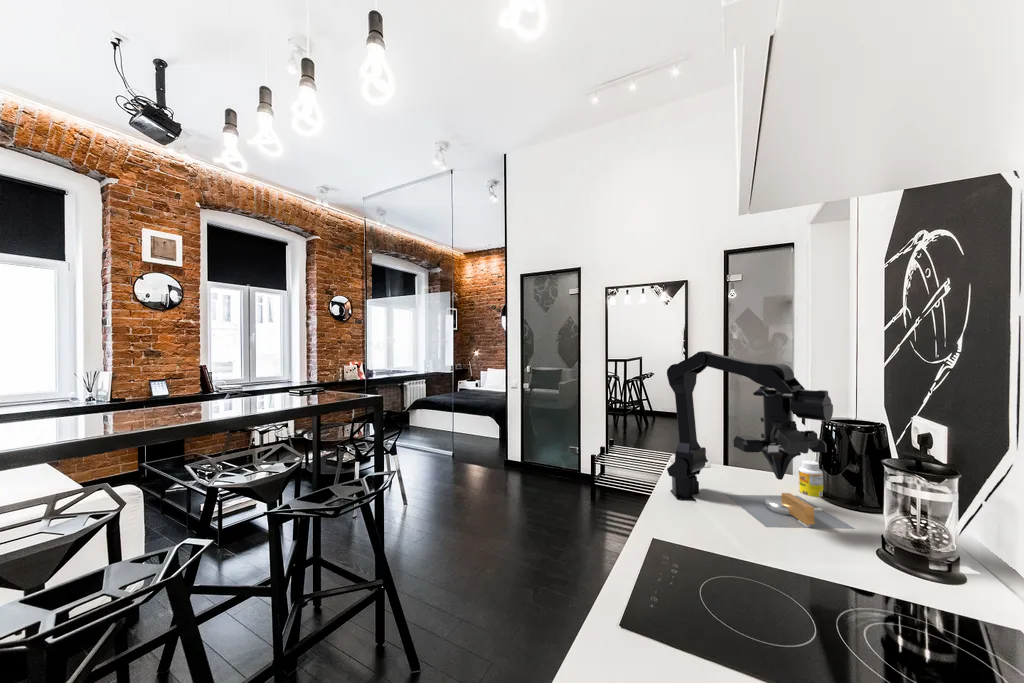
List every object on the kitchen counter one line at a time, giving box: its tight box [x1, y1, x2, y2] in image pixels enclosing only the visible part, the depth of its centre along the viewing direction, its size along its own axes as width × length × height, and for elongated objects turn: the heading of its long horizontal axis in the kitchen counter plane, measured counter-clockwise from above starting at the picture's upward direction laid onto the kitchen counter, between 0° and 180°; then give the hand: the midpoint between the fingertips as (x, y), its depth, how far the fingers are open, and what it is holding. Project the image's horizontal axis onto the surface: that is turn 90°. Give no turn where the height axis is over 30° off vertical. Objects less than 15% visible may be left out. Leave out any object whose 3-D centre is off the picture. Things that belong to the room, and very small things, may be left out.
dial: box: [765, 492, 814, 524], centre depth 98 cm, size 14×8×5 cm, turn 176°
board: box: [726, 494, 856, 529], centre depth 101 cm, size 20×20×2 cm
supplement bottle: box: [798, 459, 824, 498], centre depth 111 cm, size 6×6×10 cm
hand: (779, 479), depth 93 cm, fingers closed
